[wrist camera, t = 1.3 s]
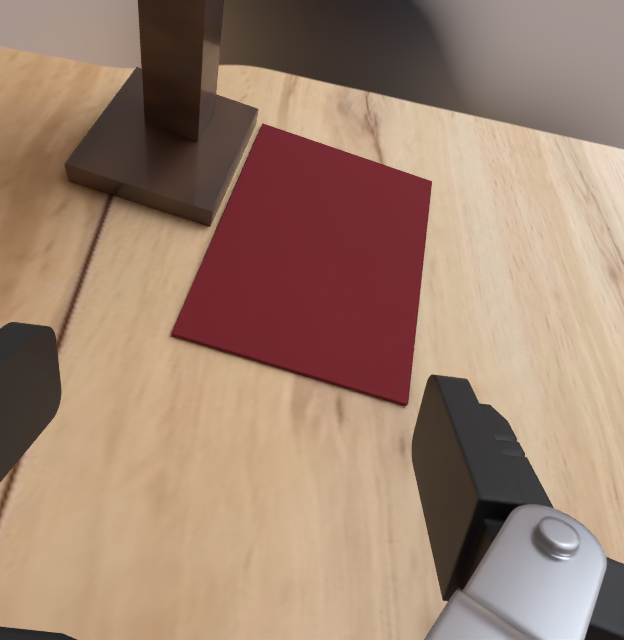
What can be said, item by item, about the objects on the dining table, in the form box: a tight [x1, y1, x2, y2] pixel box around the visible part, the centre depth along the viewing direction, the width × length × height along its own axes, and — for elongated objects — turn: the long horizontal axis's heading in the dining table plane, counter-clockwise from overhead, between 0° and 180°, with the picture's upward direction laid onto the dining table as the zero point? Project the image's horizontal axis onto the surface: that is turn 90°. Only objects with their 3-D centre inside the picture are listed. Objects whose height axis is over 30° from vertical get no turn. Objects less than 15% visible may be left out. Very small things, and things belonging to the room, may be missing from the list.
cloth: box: [172, 124, 432, 406], centre depth 36 cm, size 15×21×1 cm
